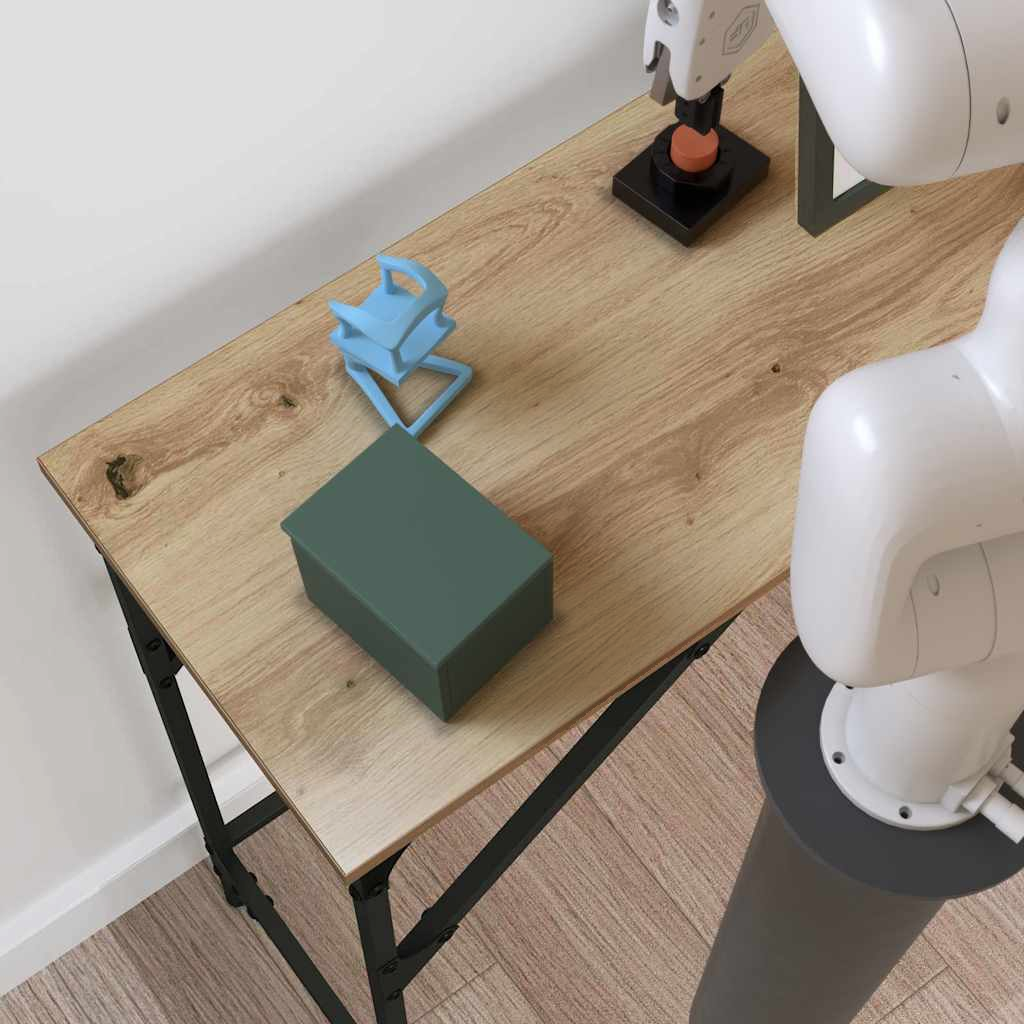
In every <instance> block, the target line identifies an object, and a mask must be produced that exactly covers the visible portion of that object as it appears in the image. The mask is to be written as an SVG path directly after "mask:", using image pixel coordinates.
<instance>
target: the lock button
mask: <svg viewBox="0 0 1024 1024" xmlns="http://www.w3.org/2000/svg"><path fill="white" fill-rule="evenodd" d="M717 148H718V136H717V134H716V132H715V131H714V130H713V129H712V128H711V131H710V132H709V133H708V134H707V135H706V136H702V135H701V134H699V133H698V132H696V131H695V130H694V129H692V128H690V127H687V126H686V125H682V126H680V127H678V128H677V129H676V130H675V132H674V133H673V136H672V143H671V159H672V161H673V163H674V164H675V165H676V166H677V167H678V168H680V169H682V170H684V171H688V172H701V171H704V170H707V169H708V168H710V167H711V166H712V165H713V164H714V162H715V160H716V156H717Z"/></svg>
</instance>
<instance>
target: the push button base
mask: <svg viewBox="0 0 1024 1024" xmlns="http://www.w3.org/2000/svg"><path fill="white" fill-rule="evenodd" d="M682 125H684V124H683V123H681V122H680V120H679V119H678V121H677V122H674V123H671V124H669V125H668V126H666V127H665V128H664V129H663V130H661V131H660V132H659V133H658V134H657V135H656V136H655V137H654V140H653V142H652V143H650V144H649V145H648V146H647V147H646V148H644V149H643V150H642V151H641V152H640V153H639V154H638V155H636V156H635V157H634V158H633V159H631V160H630V161H629V162H628V163H627V164H626V165H624V166H623V167H622V168H621V169H619V170H618V171H617V172H616V173H615V174H613V175H612V183H611V195H612V196H613V197H614V198H616V199H618V200H619V201H620V202H622V203H623V204H625V205H626V206H627V207H628V208H630V209H631V210H633V211H634V212H636V213H637V214H639V215H640V216H641V217H643V218H644V219H645V220H647V221H648V222H650V223H651V224H653V225H654V226H656V227H657V228H658V229H659V230H661V231H662V232H664V233H665V234H667V235H668V236H670V237H671V238H672V239H674V240H675V241H677V242H678V243H680V244H681V245H682V246H683V247H685V248H689V247H690V246H691V245H692V244H693V243H694V242H695V241H696V240H697V239H699V238H700V237H701V236H702V235H703V234H704V233H705V232H706V231H708V230H709V229H710V228H711V227H712V226H714V225H715V224H716V223H717V222H718V221H719V220H720V219H721V218H722V217H723V216H725V215H726V214H727V213H728V212H729V211H730V210H731V209H733V208H734V207H735V206H736V205H737V204H739V202H740V201H742V200H743V199H744V198H745V197H746V196H747V195H748V194H749V193H750V192H752V191H753V190H754V189H755V188H756V187H757V186H759V184H761V183H762V182H763V181H764V180H765V179H766V178H767V177H768V176H769V171H770V165H771V159H772V158H771V157H770V156H769V155H767V154H765V153H764V152H763V151H761V150H759V149H758V148H756V147H755V146H754V145H752V144H751V143H749V142H748V141H746V140H745V139H743V138H742V137H740V135H738V134H736V133H734V132H732V130H731V129H729V128H727V127H725V126H724V125H722V124H721V123H719V125H717V126H716V127H715V128H712V129H713V130H714V131H715V132H716V134H717V136H718V148H717V156H716V160H715V162H714V164H713V165H712V166H711V167H710V168H708V169H707V170H704V171H701V172H688V171H684V170H682V169H680V168H678V167H677V166H676V165H675V164H674V163H673V161H672V159H671V143H672V136H673V133H674V132H675V130H676V129H677V128H678V127H680V126H682Z"/></svg>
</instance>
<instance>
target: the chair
mask: <svg viewBox="0 0 1024 1024" xmlns="http://www.w3.org/2000/svg"><path fill="white" fill-rule="evenodd" d="M375 258H376V260H377V262H378V264H379V266H380V275H381V283H380V284H379V285H378V286H377V287H376V288H375V289H374V290H373V291H372V292H371V293H370V294H369V296H368V297H367V298H366V299H365V300H364V301H362V303H361V304H360V305H359V306H358V307H356V306H353V305H348V304H345V303H342V302H339V301H338V300H333V299H332V300H329V301H328V306H329V308H330V311H331V312H332V315H333V316H334V318H336V320H337V321H338V323H339V324H338V326H337V327H336V328H334V330H333V331H332V332H331V333H330V334H329V335H328V336H329V341H330V343H331V344H333V345H334V346H335V347H337V349H338V350H339V351H340V353H341V355H342V356H343V358H344V363H345V371H346V372H347V374H348V375H349V376H350V377H351V378H352V379H353V380H354V381H355V382H356V383H357V384H358V386H359V387H360V388H361V389H362V391H363V392H364V393H365V395H366V396H367V397H368V398H369V400H370V401H371V403H372V404H373V405H374V407H375V408H376V410H377V411H378V413H379V414H380V415H381V417H382V418H383V419H384V421H385V422H386V424H387V425H388V426H389V428H391V427H392V426H393V425H394V424H395V423H398V424H399V425H400V426H401V427H403V428H404V429H405V430H406V431H407V432H409V433H410V434H411V435H412V436H413V437H415V438H416V439H417V440H418V438H419V437H420V436H421V435H422V433H424V431H426V429H427V428H428V427H429V426H430V425H431V424H432V423H433V422H434V421H435V420H436V418H438V417H439V416H440V414H441V413H442V412H443V411H445V409H446V408H447V407H448V406H449V405H450V404H451V402H453V400H454V399H455V398H456V397H457V396H458V395H459V394H460V393H461V392H462V391H463V390H464V389H465V388H466V386H468V384H469V383H471V381H472V379H473V369H472V367H470V366H468V365H466V364H464V363H461V362H458V361H456V360H452V359H449V358H446V357H442V356H438V355H435V354H432V353H433V352H434V351H435V350H436V349H437V348H438V347H439V346H440V345H441V344H442V343H444V342H445V341H446V340H447V339H448V338H449V337H450V336H451V335H452V334H453V333H454V331H456V329H457V321H456V319H453V318H452V317H450V316H448V315H447V314H446V313H444V312H443V310H444V308H445V305H446V302H447V299H448V296H449V290H448V288H447V286H446V285H445V284H444V283H443V282H442V280H441V279H440V278H438V276H437V275H436V274H435V273H433V271H431V270H430V269H429V268H428V267H427V266H425V265H424V264H422V263H420V262H418V261H416V260H413V259H409V258H404V257H403V258H402V257H395V256H390V255H388V254H384V253H377V254H376V257H375ZM392 272H397V273H401V274H404V275H406V276H407V277H409V278H411V279H412V280H414V281H415V282H417V283H418V284H419V286H421V287H422V288H423V291H422V293H421V294H420V295H419V296H418V297H417V296H416V295H414V294H413V293H411V292H410V291H409V290H407V289H406V288H404V287H403V286H401V285H400V284H398V282H395V281H394V280H393V279H394V278H393V275H392ZM366 368H368V369H370V370H372V371H374V372H376V373H377V374H379V375H380V376H381V377H383V378H384V379H385V380H387V381H389V382H390V383H392V384H393V385H394V386H396V387H397V388H400V387H402V385H404V383H405V382H407V380H408V379H410V377H411V376H412V375H413V374H414V373H415V371H417V370H418V368H422V369H427V370H430V371H435V372H440V373H444V374H448V375H452V376H456V377H457V378H456V379H455V380H454V381H453V382H452V383H451V384H450V385H449V386H448V387H447V388H446V389H445V390H444V391H443V392H442V393H441V394H440V396H439V397H438V398H437V399H436V400H435V401H434V402H433V403H432V404H431V405H430V406H429V407H428V408H427V409H426V410H425V411H424V412H423V413H422V414H421V415H420V417H418V418H417V419H416V420H415V421H414V423H412V425H410V426H409V427H407V426H405V424H404V423H403V421H402V419H400V417H399V415H398V414H397V412H396V411H395V409H394V408H393V407H392V405H391V403H390V401H389V400H388V399H387V397H386V396H385V394H384V392H383V391H382V390H381V388H380V387H379V385H378V384H377V382H376V381H375V379H374V377H372V375H371V373H370V372H369V371H368V370H367V369H366Z"/></svg>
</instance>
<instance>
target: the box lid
mask: <svg viewBox="0 0 1024 1024" xmlns="http://www.w3.org/2000/svg"><path fill="white" fill-rule="evenodd" d="M279 527H280V529H281V531H283V532H284V533H285V534H286V535H287V536H288V537H289V538H290V539H291V538H292V539H293V540H294V541H295V542H296V543H297V544H298V545H299V546H301V547H302V548H303V549H304V550H305V551H306V552H307V553H308V554H309V555H310V556H312V557H313V558H314V559H315V560H316V561H317V562H318V563H319V564H320V565H322V566H323V567H324V568H325V569H326V570H327V571H328V572H329V573H330V574H331V575H333V576H334V577H335V578H336V579H337V580H338V581H339V582H340V583H341V584H343V585H344V586H345V587H346V588H347V589H348V590H349V591H350V592H351V593H352V594H354V595H355V596H356V597H357V598H358V599H359V600H360V601H361V602H362V603H364V604H365V605H366V606H367V607H368V608H369V609H370V610H371V611H372V612H373V613H375V614H376V615H377V616H378V617H379V618H380V619H381V620H382V621H383V622H385V623H386V624H387V625H388V626H389V627H390V628H391V629H392V630H393V631H394V632H396V633H397V634H398V635H399V636H400V637H401V638H402V639H403V640H404V641H405V642H407V643H408V644H409V645H410V646H411V647H412V648H413V649H414V650H415V651H417V652H418V653H419V654H420V655H421V656H422V657H423V658H424V659H425V660H426V661H428V662H429V663H430V664H431V665H432V666H433V667H434V668H435V669H437V670H438V669H439V668H440V667H441V666H442V665H443V664H444V663H445V662H446V661H447V660H448V659H450V658H451V657H452V656H453V655H454V654H455V653H456V652H457V651H458V650H459V649H460V648H461V647H462V646H463V645H464V644H465V643H466V642H467V641H469V640H470V639H471V638H472V637H473V636H474V635H475V634H476V633H477V632H478V631H479V630H480V629H481V628H482V627H483V626H484V625H485V624H486V623H487V622H489V621H490V620H491V619H492V618H493V617H494V616H495V615H496V614H497V613H498V612H499V611H500V610H501V609H502V608H503V607H504V606H505V605H506V604H508V603H509V602H510V601H511V600H512V599H513V598H514V597H515V596H516V595H517V594H518V593H519V592H520V591H521V590H522V589H523V588H524V587H525V586H526V585H528V584H529V583H530V582H531V581H532V580H533V579H534V578H535V577H536V576H537V575H538V574H539V573H540V572H541V571H542V570H543V569H544V568H545V567H546V566H548V565H549V564H550V563H551V562H552V561H553V562H554V554H553V553H552V552H551V551H550V550H548V548H546V547H545V546H544V545H543V544H541V543H540V542H539V541H538V540H537V539H536V538H534V537H533V536H532V535H530V533H528V532H527V530H525V529H524V528H522V527H521V526H520V525H519V524H518V523H516V521H514V520H513V519H512V518H511V517H510V516H508V515H507V514H506V513H505V512H504V511H502V510H501V509H500V508H499V507H498V506H496V505H495V504H494V503H493V502H492V501H491V500H490V499H488V498H487V497H486V496H485V495H484V494H483V493H481V492H480V491H479V490H478V489H476V488H475V487H474V486H473V485H471V484H470V483H469V482H468V481H467V480H466V479H464V477H462V476H461V475H460V474H458V473H457V472H456V471H455V470H454V469H453V468H451V467H450V466H449V465H448V464H447V463H445V461H443V460H442V459H441V458H440V457H439V456H437V455H436V454H435V453H434V452H432V451H431V450H430V449H429V448H428V447H426V446H425V445H424V444H423V443H422V442H421V441H420V440H418V438H417V439H416V438H415V437H413V436H412V435H411V434H410V433H409V432H407V431H406V430H405V429H404V428H403V427H401V426H400V425H399V424H398V423H395V424H394V425H393V426H392V427H389V428H388V429H387V430H386V431H385V432H383V433H382V434H381V435H379V437H378V438H376V439H375V440H374V441H373V442H372V443H370V445H368V446H367V447H366V448H364V449H363V451H362V452H360V453H359V454H358V455H357V456H355V457H354V458H353V459H352V460H351V461H350V462H349V463H347V465H345V466H344V467H343V468H341V469H340V470H339V471H338V472H337V473H336V474H335V475H334V476H332V477H331V479H329V480H328V481H326V483H324V484H323V485H322V486H321V487H320V488H319V489H318V490H316V491H315V492H314V493H313V494H312V495H311V496H309V498H307V499H306V500H304V502H302V504H300V505H299V506H298V507H297V508H295V509H294V510H293V511H292V512H291V513H290V514H288V515H287V516H286V517H285V518H284V519H283V520H282V521H281V522H280V523H279Z"/></svg>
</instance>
